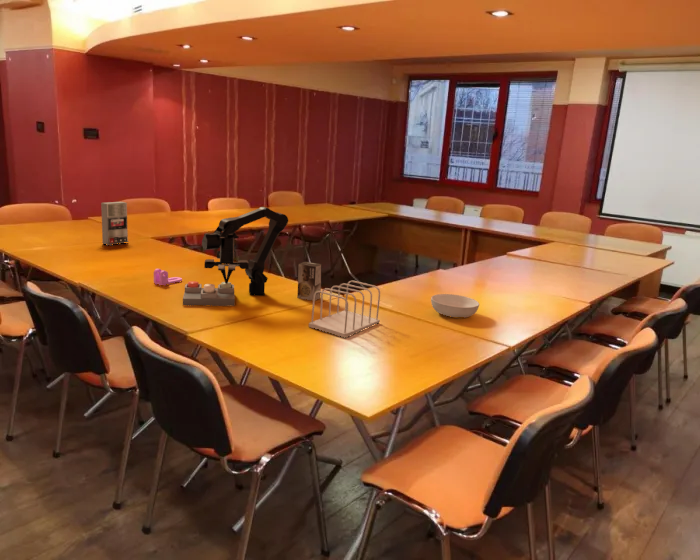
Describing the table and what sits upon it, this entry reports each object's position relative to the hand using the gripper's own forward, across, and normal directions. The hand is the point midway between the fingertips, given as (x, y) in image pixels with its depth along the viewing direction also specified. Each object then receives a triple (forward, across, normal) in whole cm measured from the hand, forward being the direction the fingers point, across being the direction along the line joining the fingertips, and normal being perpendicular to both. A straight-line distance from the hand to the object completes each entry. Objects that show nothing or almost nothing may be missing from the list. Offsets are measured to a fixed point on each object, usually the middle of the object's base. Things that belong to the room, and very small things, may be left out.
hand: (226, 283), depth 247 cm
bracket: (+7, +26, -24) cm, 36 cm away
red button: (+3, +14, 0) cm, 14 cm away
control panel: (+6, +7, +4) cm, 11 cm away
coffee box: (+7, -37, 0) cm, 38 cm away
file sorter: (+7, -46, +38) cm, 60 cm away
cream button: (+2, +7, +9) cm, 12 cm away
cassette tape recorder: (+7, +65, -112) cm, 130 cm away
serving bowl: (+7, -98, +24) cm, 101 cm away
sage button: (+3, 0, 0) cm, 3 cm away
